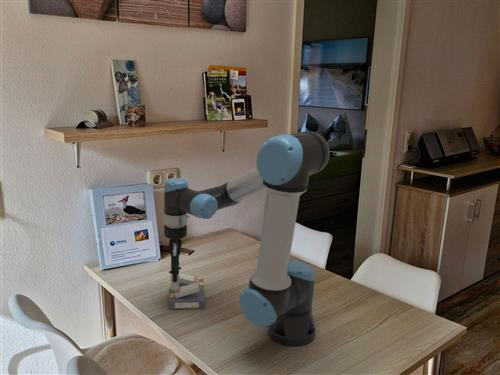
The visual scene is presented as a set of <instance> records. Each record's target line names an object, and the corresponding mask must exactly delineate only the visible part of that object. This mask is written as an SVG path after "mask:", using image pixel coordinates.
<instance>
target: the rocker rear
mask: <svg viewBox="0 0 500 375" xmlns="http://www.w3.org/2000/svg"><path fill="white" fill-rule="evenodd" d="M199 279H200V278H199V277H198V276H194V275H191V274H190V275H189V274H186V273H181V272H179V282H181V283H185V284H193V283H196V282H198V283H199Z"/></svg>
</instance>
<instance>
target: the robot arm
mask: <svg viewBox="0 0 500 375" xmlns="http://www.w3.org/2000/svg"><path fill="white" fill-rule="evenodd" d="M330 152H331V151H330V147H329V143H328V142H327V141H326V139H325V138H324V137H323V136H321V134H319V133H317V132H315V131H308V130H307V131H302V132H293V133H288V134H287V133H284V134H279V135H276V136H273V137H270V138H268V139H267V140H266V141H265V142H263V143H262V144H261V146H260V148H259V149H258V152H257V155H256V167H253V168H252V169H250V170H248V171H246V172H244V173H243V174H240V175H238V176H237V177H235V178H233V179H231V180H229V181H227V182H225V183H222V184H221V185H217V186H214V187H209V188H207V189H206V188H205V189H202V190H194V189H192V188H189V185H188V184H189V183H188V180H187V179H185V178H180V177H172V178H168V179H166V180H165V182H164V190H163V224H164V226H163V235H164V237H165V238H166V239H169V243H168V247H169V255H170V270H169V271H168V274H170V287H171V290H179V273H180V270H182V266H180V255H181V248H182V239H185V237H187V235H188V225H187V224H188V223H187V222H188V219H189V218H190V216H189V214H190V215H191V216H194V217H196V218H198V219H203V220H209V219H211V218H212V217H213V216H214V215H216V213H217V211H219V210H222V209H226V208H230V207H233V206H236V205H238V204H240V203H241V202H242V201H244V200H246V199H248V198H251V197H253V196H255V195H257V194H259V193H261V192H264V191H265V190H266V197H265V198H266V199H265V203H264V204H265V205H264V211H263V212H264V213H263V220H262V227H261V234H260V242H259V248H258V257H257V262H256V268H255V269H254V270H252V271H251V272H250V275H249V282H248V287H247V288H245V289H243V290H242V291H241V293H240V294H239V297H238V303H239V304H238V305H239V309H240V311H241V313H242V315H243V316H244V318H245V319H246V320H247V321H248V322H249V323H250V324H252V325H253V326H255V327H258V328H267V334H268V336H269V337H270V338H271V339H272V340H273V341H275V342H277V343H279V344H281V345H286V346H290V347H299V346H305V345H308V344H310V343H311V342H313V341H314V339H315V338H316V333H317V325H316V323H315V318H314V315H313V312H312V311H313V302H314V299H313V298H314V290H315V281H316V279H315V274H316V273H315V269H314V268H313V267H312V266H311V265H309V264H308V263H305V262H302V261H297V260H290V258H291V253H292V248H293V247H292V246H293V240H294V234H295V228H296V222H297V215H298V209H299V205H300V203H299V202H300V196H301V195H303V194H304V193H306V192H308V185H309V180H310V179H309V178H310V176H313V175H315V174H318V173H319V172H321V171H322V170H324V169H325V168H326V166H327V165H328V163H329V160H330V157H331V156H330V155H331V154H330ZM312 340H313V341H312Z"/></svg>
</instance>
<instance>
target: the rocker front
mask: <svg viewBox="0 0 500 375" xmlns="http://www.w3.org/2000/svg"><path fill="white" fill-rule="evenodd" d="M196 292H199V285H198V282H196V283H193V284H189V285H186V286H182V287H179V290H175V296H176V298H179V297H182V296H186V295H189V294H192V293H196Z"/></svg>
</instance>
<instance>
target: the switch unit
mask: <svg viewBox="0 0 500 375" xmlns="http://www.w3.org/2000/svg"><path fill="white" fill-rule="evenodd" d="M204 279H205V278H199V283H198V285H199V292H196V293H192V294H189V295H186V296H182V297H179V298H176V296H175V290H171V286H170V287H169V288H170V289H169V296H168V297H169V298H168V310H169V311H170V310H193V309H194V310H195V309H196V310H197V309H204V310H205V307H206V305H205V303H206V301H205V280H204ZM186 285H189V284H185V283H181V282H179V287H182V286H186Z"/></svg>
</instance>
